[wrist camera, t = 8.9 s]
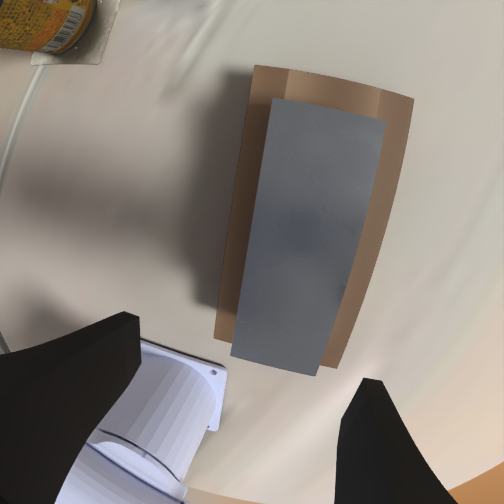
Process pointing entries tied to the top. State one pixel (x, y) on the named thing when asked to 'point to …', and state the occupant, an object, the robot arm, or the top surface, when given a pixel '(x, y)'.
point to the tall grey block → (304, 232)
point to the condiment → (57, 29)
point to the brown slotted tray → (248, 171)
